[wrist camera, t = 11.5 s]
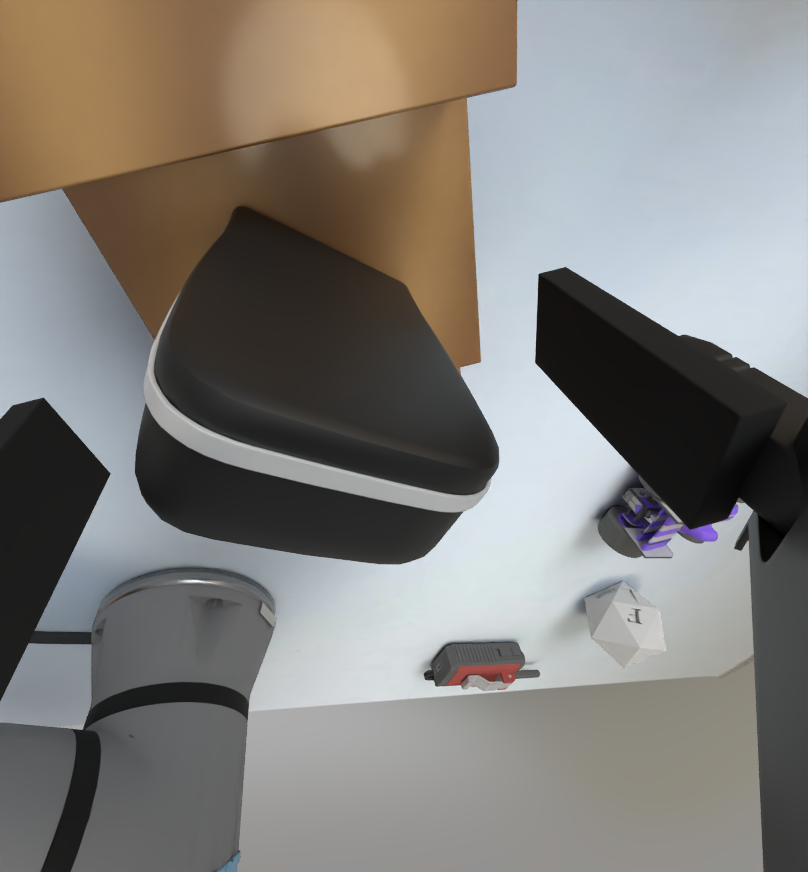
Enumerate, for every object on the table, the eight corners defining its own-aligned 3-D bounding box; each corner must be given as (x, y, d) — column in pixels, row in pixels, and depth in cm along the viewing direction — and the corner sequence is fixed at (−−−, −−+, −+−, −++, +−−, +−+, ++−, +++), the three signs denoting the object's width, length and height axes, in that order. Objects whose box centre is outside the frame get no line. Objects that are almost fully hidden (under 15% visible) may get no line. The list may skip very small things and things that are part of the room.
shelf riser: (273, 436, 30) (263, 589, 21) (13, -94, 14) (-494, -429, 5) (448, 392, 30) (514, 521, 21) (383, -166, 15) (523, -588, 6)
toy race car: (693, 523, 49) (738, 572, 44) (588, 519, 44) (624, 574, 39) (754, 461, 43) (813, 509, 38) (641, 449, 39) (692, 502, 34)
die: (648, 576, 56) (687, 617, 47) (636, 638, 58) (672, 691, 48) (582, 566, 57) (607, 604, 48) (572, 627, 59) (594, 676, 49)
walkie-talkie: (415, 673, 59) (531, 667, 66) (422, 709, 56) (544, 698, 63) (439, 642, 54) (562, 638, 62) (448, 678, 51) (577, 670, 58)
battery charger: (202, 300, 16) (81, 563, 7) (229, 194, 14) (113, 371, 5) (372, 364, 19) (439, 602, 10) (413, 284, 17) (541, 492, 8)
